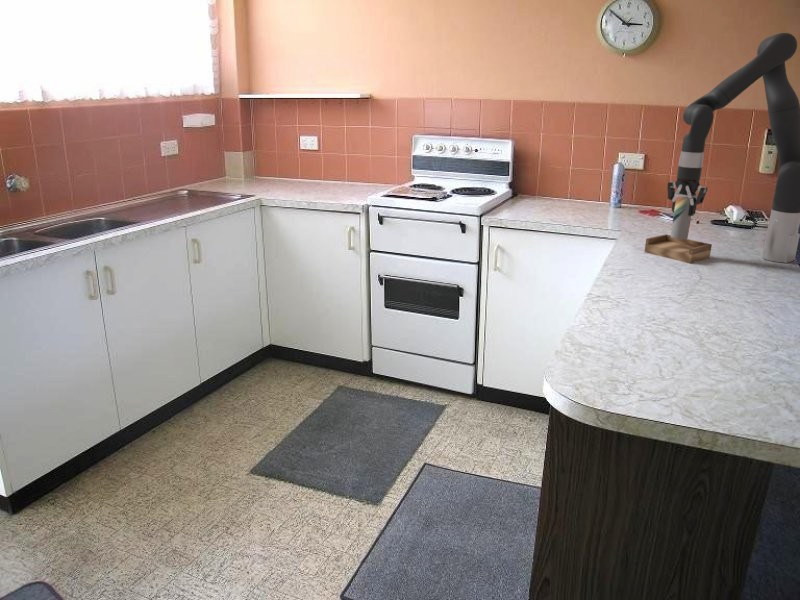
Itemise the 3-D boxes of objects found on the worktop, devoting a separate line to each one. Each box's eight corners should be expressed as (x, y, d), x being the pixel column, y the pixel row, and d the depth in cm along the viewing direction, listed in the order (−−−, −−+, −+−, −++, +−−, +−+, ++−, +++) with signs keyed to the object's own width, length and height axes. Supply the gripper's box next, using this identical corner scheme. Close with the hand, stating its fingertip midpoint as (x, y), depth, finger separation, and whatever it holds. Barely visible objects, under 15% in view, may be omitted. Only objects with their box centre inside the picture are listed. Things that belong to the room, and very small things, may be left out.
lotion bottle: (684, 236, 238) (693, 179, 231) (689, 239, 232) (698, 182, 226) (668, 235, 238) (676, 179, 232) (672, 239, 233) (681, 181, 226)
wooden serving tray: (709, 258, 234) (711, 244, 232) (690, 263, 227) (692, 249, 225) (663, 247, 247) (665, 234, 246) (644, 252, 241) (646, 238, 239)
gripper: (716, 167, 224) (708, 216, 229) (677, 162, 235) (670, 209, 240) (703, 168, 219) (695, 219, 225) (665, 163, 230) (658, 211, 236)
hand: (682, 213), depth 232 cm, fingers closed on lotion bottle, 5 cm apart
